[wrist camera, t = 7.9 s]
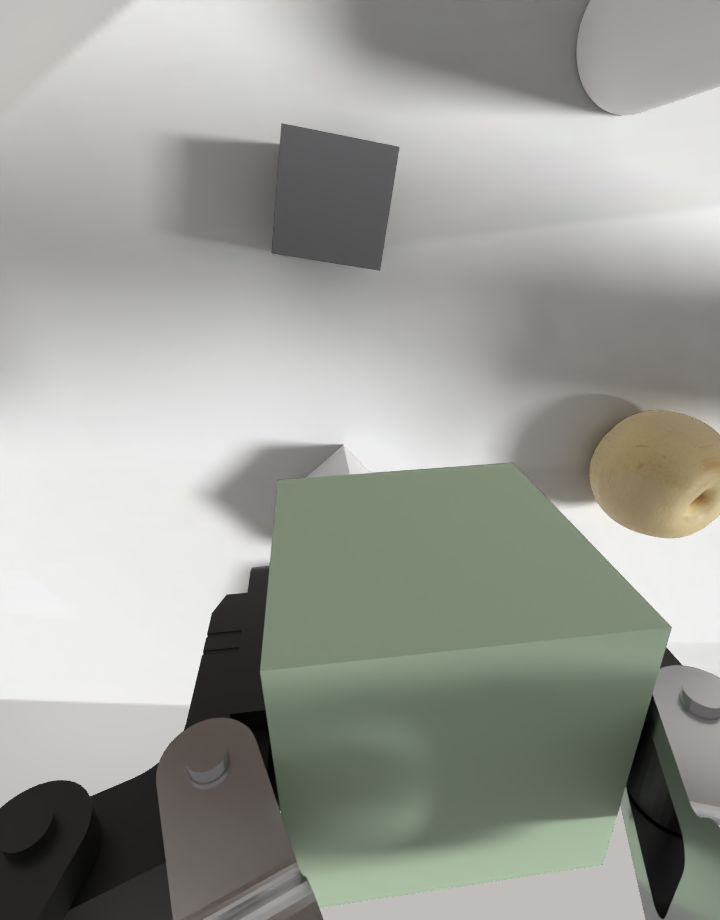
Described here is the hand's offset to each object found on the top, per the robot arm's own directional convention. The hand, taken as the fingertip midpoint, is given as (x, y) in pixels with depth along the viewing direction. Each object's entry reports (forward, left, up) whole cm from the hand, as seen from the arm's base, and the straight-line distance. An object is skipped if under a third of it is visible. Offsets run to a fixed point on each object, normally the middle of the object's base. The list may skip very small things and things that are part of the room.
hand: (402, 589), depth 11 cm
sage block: (0, 0, -1) cm, 1 cm away
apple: (-20, -5, -21) cm, 30 cm away
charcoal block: (+5, -7, -21) cm, 23 cm away
